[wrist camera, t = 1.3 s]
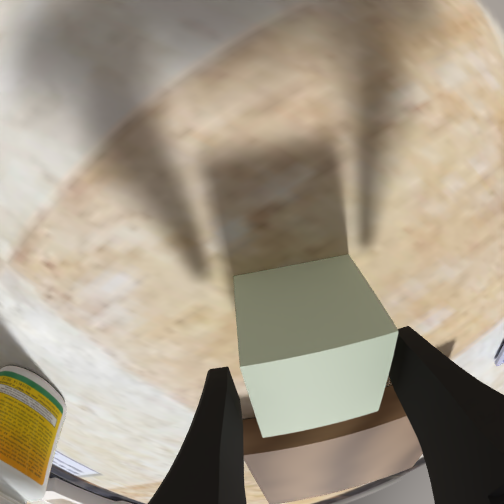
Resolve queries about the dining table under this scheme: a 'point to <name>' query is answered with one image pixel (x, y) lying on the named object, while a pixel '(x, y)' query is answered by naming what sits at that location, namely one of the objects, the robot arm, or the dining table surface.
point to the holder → (72, 494)
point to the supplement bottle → (27, 434)
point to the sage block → (312, 344)
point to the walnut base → (332, 453)
